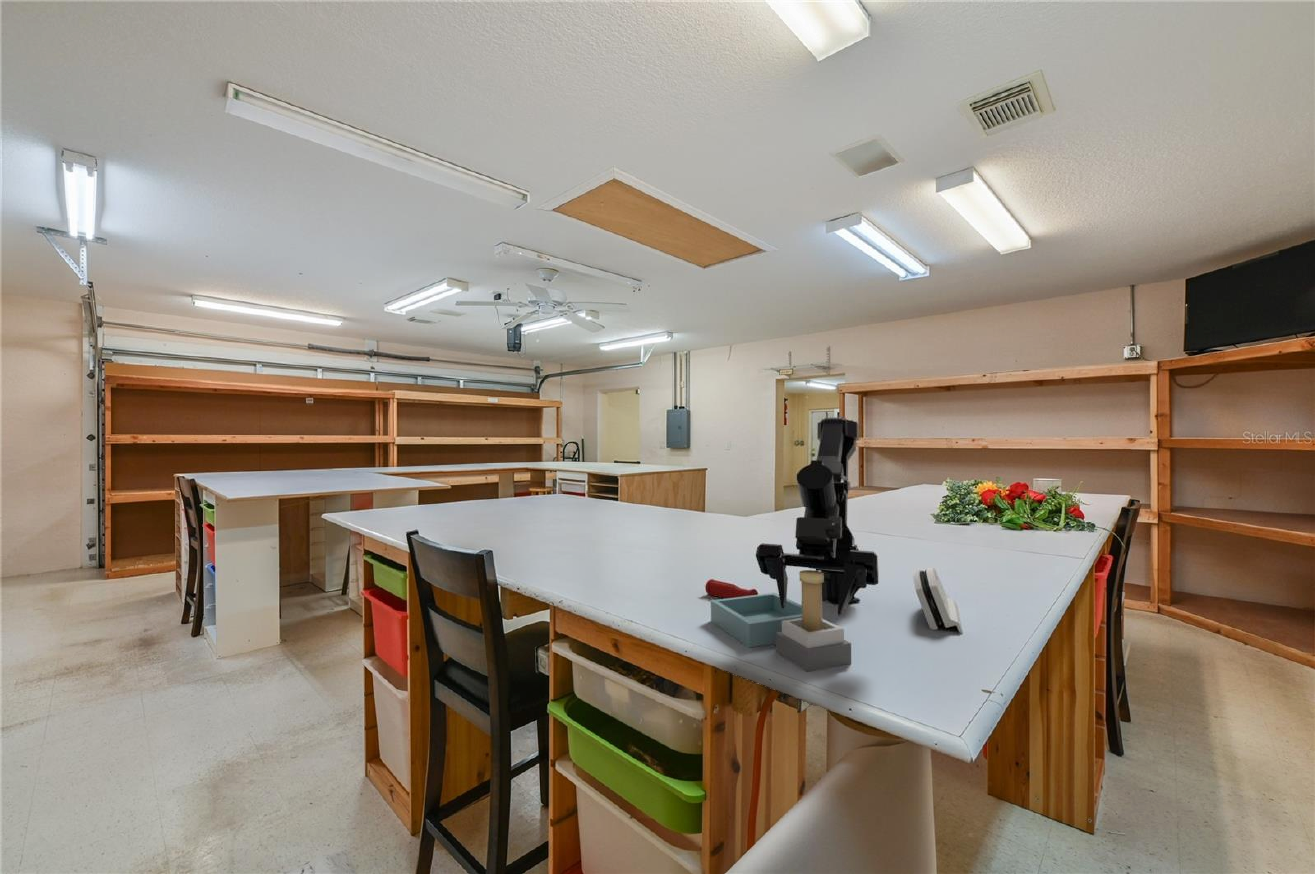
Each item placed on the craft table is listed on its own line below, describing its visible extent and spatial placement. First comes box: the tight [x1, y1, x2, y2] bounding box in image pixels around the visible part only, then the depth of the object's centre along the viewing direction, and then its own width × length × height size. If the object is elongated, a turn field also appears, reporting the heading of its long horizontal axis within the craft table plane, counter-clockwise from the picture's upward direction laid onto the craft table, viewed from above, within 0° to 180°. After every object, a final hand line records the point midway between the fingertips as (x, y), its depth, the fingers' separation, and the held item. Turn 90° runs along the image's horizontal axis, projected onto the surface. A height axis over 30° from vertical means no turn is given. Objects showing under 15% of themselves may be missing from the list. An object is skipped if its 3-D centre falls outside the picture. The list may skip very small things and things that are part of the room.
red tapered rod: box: [705, 578, 759, 599], centre depth 107 cm, size 4×25×4 cm, turn 46°
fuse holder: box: [775, 618, 852, 672], centre depth 81 cm, size 8×8×5 cm
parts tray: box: [710, 592, 802, 648], centre depth 94 cm, size 14×14×4 cm
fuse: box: [799, 569, 824, 632], centre depth 81 cm, size 4×4×10 cm
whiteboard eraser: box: [912, 567, 964, 634], centre depth 99 cm, size 17×5×10 cm, turn 153°
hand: (810, 610), depth 79 cm, fingers open, 8 cm apart
